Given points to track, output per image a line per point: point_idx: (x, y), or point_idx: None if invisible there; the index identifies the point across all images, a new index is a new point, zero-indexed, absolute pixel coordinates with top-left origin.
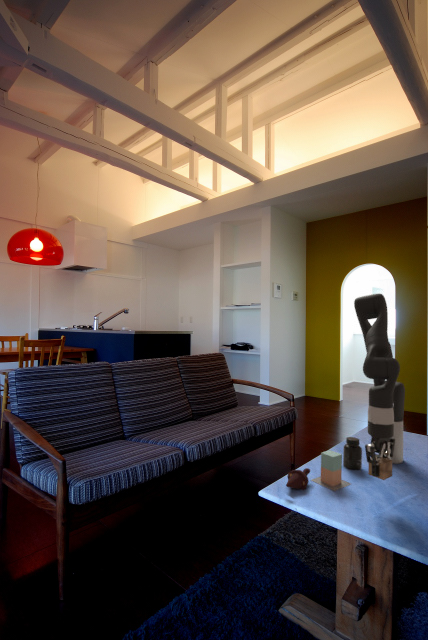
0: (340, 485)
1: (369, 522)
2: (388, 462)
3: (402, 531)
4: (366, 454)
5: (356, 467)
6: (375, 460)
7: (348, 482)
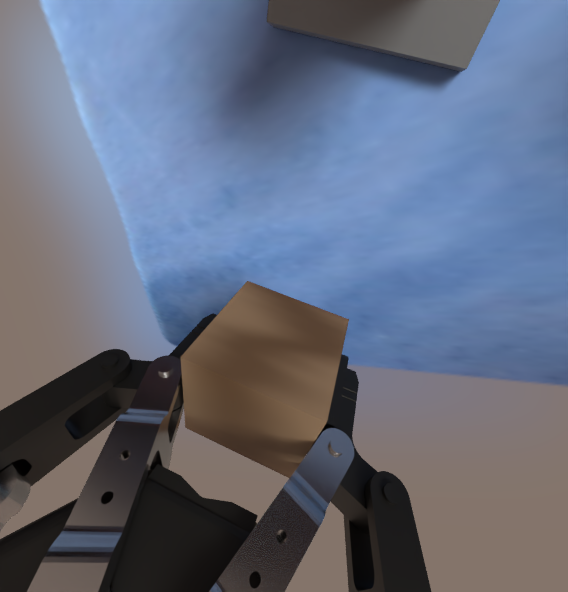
0: (384, 3)
1: (183, 251)
2: (242, 450)
3: None
4: (22, 402)
5: None
6: (108, 414)
7: (485, 28)
